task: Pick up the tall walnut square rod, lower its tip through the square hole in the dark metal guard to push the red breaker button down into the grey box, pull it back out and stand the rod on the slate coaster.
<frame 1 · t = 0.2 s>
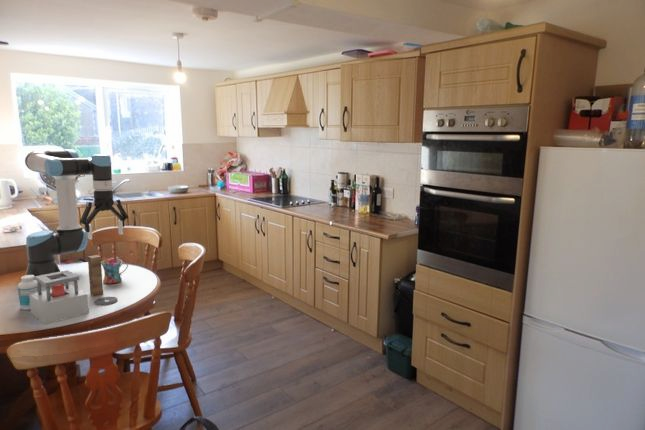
hand: (105, 236, 193), 27 cm above the table, fingers open, 13 cm apart
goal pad: (106, 301, 188), on the table
stylus peg: (96, 294, 197), on the table
breaker button: (58, 294, 174), point 8 cm above the table, slide at 0.0 cm
mug: (115, 281, 215), on the table
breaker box: (60, 312, 175), on the table
pill bottle: (30, 307, 180), on the table
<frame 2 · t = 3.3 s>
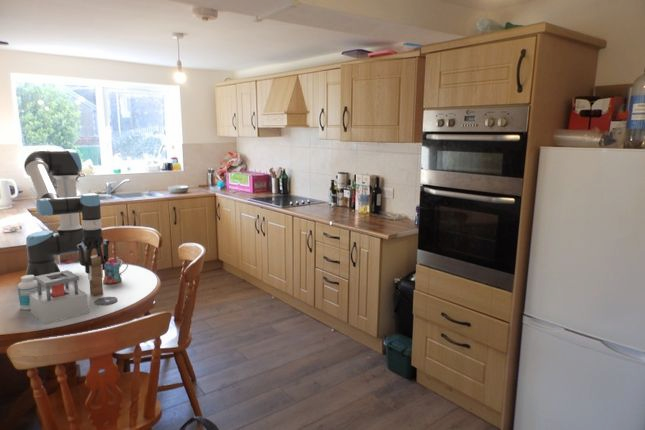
hand: (95, 278, 195), 8 cm above the table, fingers closed on stylus peg, 4 cm apart
stylus peg: (96, 294, 197), on the table, touching gripper
everything else where it was.
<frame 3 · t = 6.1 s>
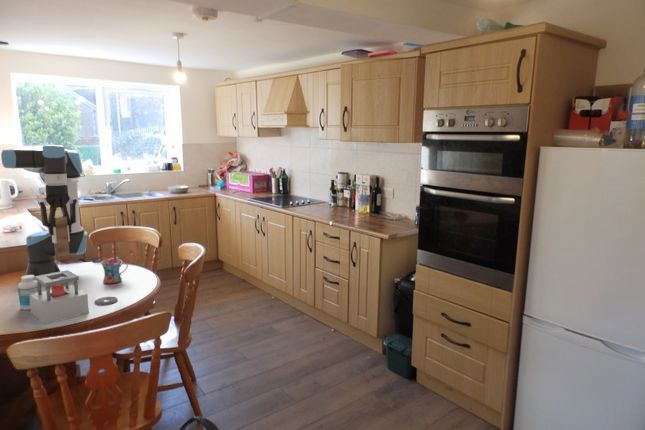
hand: (61, 241, 174), 29 cm above the table, fingers closed on stylus peg, 4 cm apart
stylus peg: (62, 259, 175), point 21 cm above the table, touching gripper
everything else where it was.
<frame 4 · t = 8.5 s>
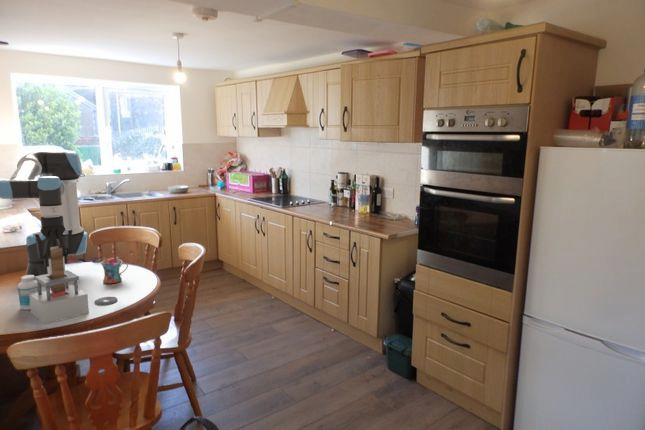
hand: (56, 272, 173), 17 cm above the table, fingers closed on stylus peg, 4 cm apart
stylus peg: (58, 290, 174), point 9 cm above the table, touching breaker button, gripper
breaker button: (58, 300, 175), point 5 cm above the table, slide at 2.6 cm, touching stylus peg
everything else where it was.
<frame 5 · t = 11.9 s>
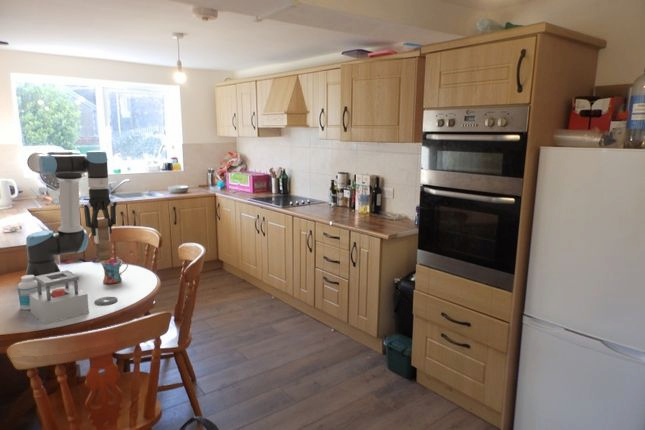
hand: (102, 242, 184), 27 cm above the table, fingers closed on stylus peg, 4 cm apart
stylus peg: (103, 259, 185), point 19 cm above the table, touching gripper
breaker button: (58, 300, 175), point 5 cm above the table, slide at 2.6 cm
everything else where it was.
when the fingers open (10 cm above the table, at t = 15.0 s): stylus peg drops 1 cm, resting on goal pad.
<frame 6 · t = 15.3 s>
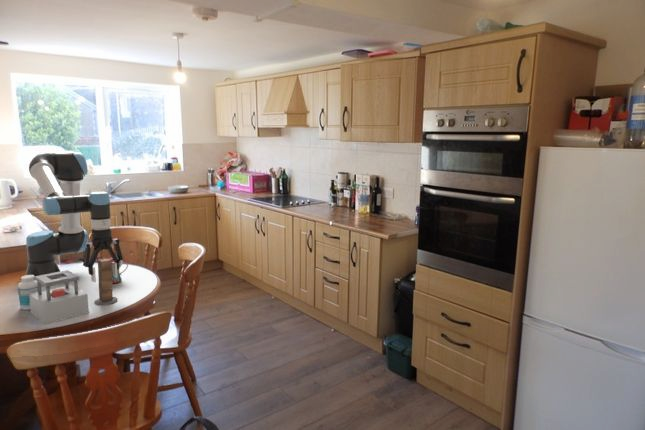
hand: (104, 279, 187), 10 cm above the table, fingers open, 8 cm apart
stylus peg: (106, 300, 188), point 1 cm above the table, touching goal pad
everything else where it was.
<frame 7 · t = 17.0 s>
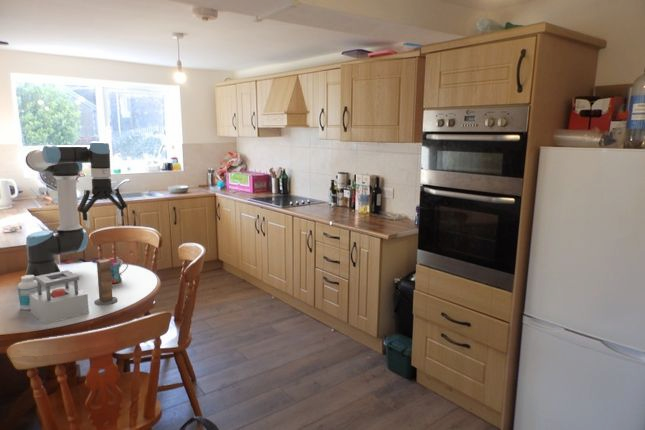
hand: (104, 225, 190), 33 cm above the table, fingers open, 13 cm apart
nothing on the table moved.
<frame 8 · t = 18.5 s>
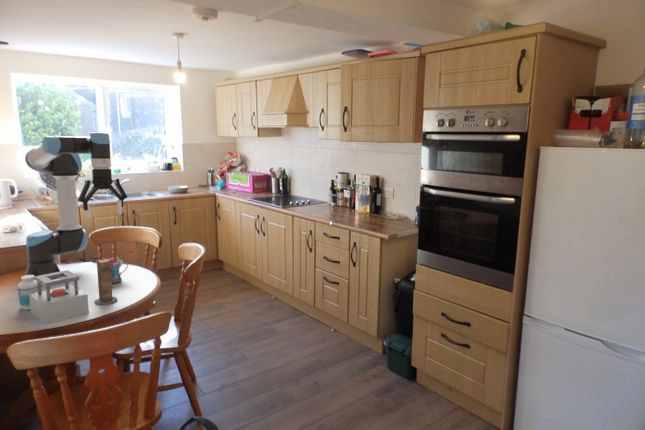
hand: (104, 215, 191), 37 cm above the table, fingers open, 13 cm apart
nothing on the table moved.
at the end: breaker button slide at 2.6 cm; stylus peg inside the target area on the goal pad (0.1 cm from its centre), point 0.6 cm above the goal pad's base; stylus peg tilted 0° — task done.
